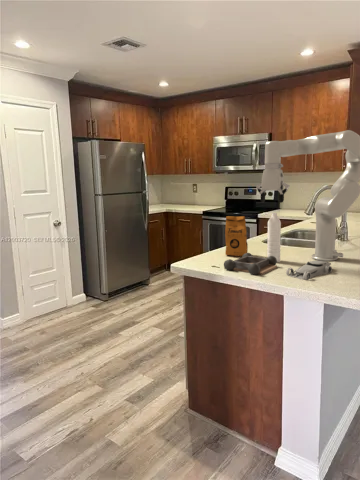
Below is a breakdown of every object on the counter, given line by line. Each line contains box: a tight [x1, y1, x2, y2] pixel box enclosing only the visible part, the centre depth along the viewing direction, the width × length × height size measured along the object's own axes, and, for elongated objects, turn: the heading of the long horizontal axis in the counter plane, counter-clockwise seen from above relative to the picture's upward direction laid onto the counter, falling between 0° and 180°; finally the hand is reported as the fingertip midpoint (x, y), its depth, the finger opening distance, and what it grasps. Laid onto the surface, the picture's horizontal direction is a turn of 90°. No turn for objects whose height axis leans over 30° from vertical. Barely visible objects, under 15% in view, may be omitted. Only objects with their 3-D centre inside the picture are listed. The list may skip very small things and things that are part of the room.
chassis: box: [223, 252, 278, 276], centre depth 168 cm, size 20×19×5 cm
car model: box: [285, 260, 333, 281], centre depth 157 cm, size 11×24×5 cm, turn 126°
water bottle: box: [262, 212, 282, 263], centre depth 179 cm, size 9×6×25 cm
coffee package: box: [224, 215, 249, 257], centre depth 195 cm, size 10×12×22 cm
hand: (271, 202), depth 175 cm, fingers open, 9 cm apart
